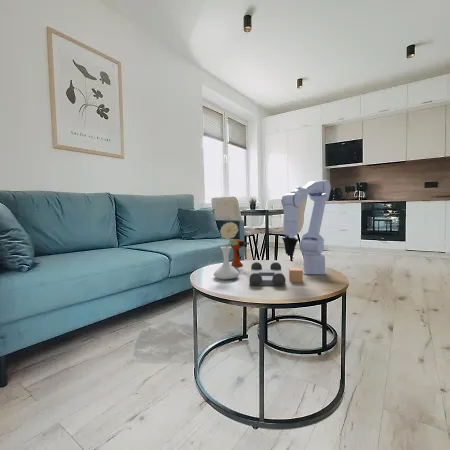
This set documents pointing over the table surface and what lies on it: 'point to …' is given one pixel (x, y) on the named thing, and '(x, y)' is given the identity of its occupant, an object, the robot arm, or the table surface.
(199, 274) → the table surface
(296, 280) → the block
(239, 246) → the toy drill
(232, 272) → the flower in vase
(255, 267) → the chassis
